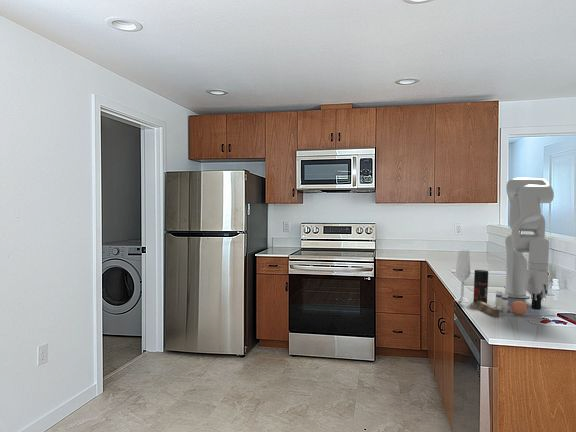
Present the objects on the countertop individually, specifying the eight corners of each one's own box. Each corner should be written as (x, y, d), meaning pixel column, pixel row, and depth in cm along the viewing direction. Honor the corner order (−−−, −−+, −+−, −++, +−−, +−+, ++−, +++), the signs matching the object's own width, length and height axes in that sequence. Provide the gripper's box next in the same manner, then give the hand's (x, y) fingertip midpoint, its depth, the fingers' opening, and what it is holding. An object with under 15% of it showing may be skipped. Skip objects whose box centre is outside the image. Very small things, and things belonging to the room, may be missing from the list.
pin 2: (500, 312, 193) (500, 293, 193) (505, 312, 193) (506, 293, 193) (503, 314, 191) (503, 294, 190) (508, 314, 191) (509, 294, 190)
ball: (516, 297, 189) (520, 297, 193) (506, 307, 191) (510, 307, 195) (528, 308, 185) (532, 308, 190) (517, 318, 187) (521, 317, 192)
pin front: (508, 311, 196) (488, 311, 195) (508, 305, 196) (489, 305, 195) (511, 313, 193) (491, 312, 193) (511, 307, 193) (492, 307, 193)
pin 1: (494, 309, 198) (494, 290, 198) (499, 309, 198) (500, 290, 198) (497, 311, 196) (497, 291, 195) (502, 311, 196) (503, 291, 195)
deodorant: (475, 300, 217) (476, 269, 216) (488, 302, 213) (489, 270, 212) (471, 302, 212) (472, 270, 211) (484, 304, 208) (486, 272, 208)
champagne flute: (470, 300, 217) (472, 250, 216) (467, 302, 211) (469, 251, 210) (456, 298, 221) (458, 249, 220) (452, 300, 215) (454, 250, 214)
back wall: (476, 307, 202) (476, 300, 202) (480, 307, 202) (481, 300, 202) (494, 316, 186) (494, 309, 186) (499, 316, 186) (499, 309, 186)
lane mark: (484, 308, 200) (484, 308, 200) (539, 309, 201) (539, 309, 201) (497, 315, 189) (497, 314, 189) (555, 315, 190) (555, 315, 190)
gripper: (519, 264, 202) (518, 305, 202) (539, 269, 187) (537, 313, 187) (536, 264, 202) (534, 305, 203) (557, 269, 187) (555, 313, 188)
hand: (536, 309), depth 195 cm, fingers closed
